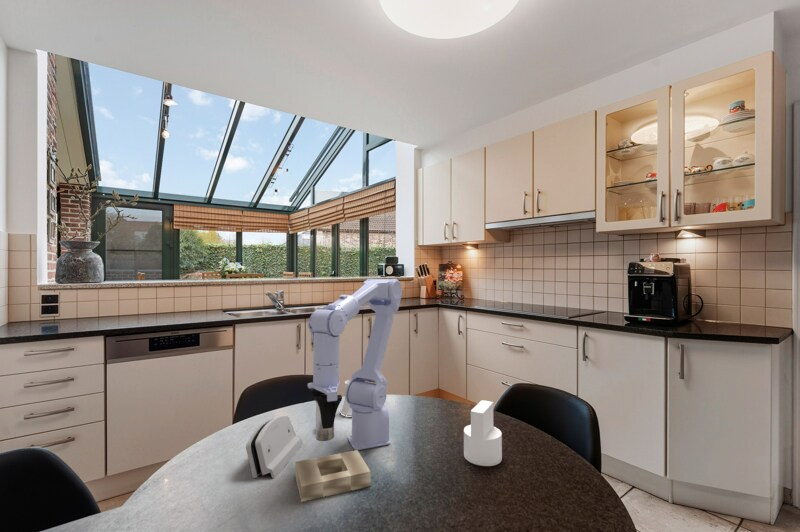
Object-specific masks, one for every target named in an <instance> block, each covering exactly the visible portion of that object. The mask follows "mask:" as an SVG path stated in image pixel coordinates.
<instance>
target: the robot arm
mask: <svg viewBox="0 0 800 532" xmlns="http://www.w3.org/2000/svg"><path fill="white" fill-rule="evenodd" d="M402 296H403V289H402V284H401V282H400V281H399V279H397V278H389V279H388V278H386V279H385V278H367V279H366V280H365V281H363V283H362V286H361V287H360V288H359V289H357V290H356V291H354V293H352V294H351V295H350V294H340V295H339V296H338V299H337V300H335V301H333V302H332V303H329V304H327V306H326V307H324V309H316V310H315V311H313V312H312V314H311V315H310V317H309V321H308V322H307V327H308V330H309V332H310V334H311V341H312V342H313V362H312V363H313V365H312V366H313V367H312V368H313V371H312V372H313V375H312V377H313V378H312V382H308V383H307V388H308V389H310V391H311V393H312V395H313V397H314V401H315V402H316V401H317V403H318V406H319V409H320V415H321V422H322V427H323V429H327V428H332V427H333V424H334V425H335V420H336V415H337V411H338V408H339V406H340V404H341V402H342V400H343V396H342V395H341V394H338V391H339V388H340V385H341V381H340V335H341V334H343V332H344V330H345V327H346V326H347V324H348V322H350V320H352V319H353V318H355V317H356V316H357V315H358V314H359V312H360V308H361V307H362V306H363V305H365V304H368V306H369V307H370V309H371V310H372V311H374V312H375V316H374V317H375V318H374V321H373V325H372V327H371V333H370V335H369V336H370V337H369V340H368V344H367V347H366V351H365V354H364V357H363V362H362V365H361V368H359V369H357V371H355V372H353V373H352V374H351V378H350V379H349V380H350V382H349V384H348V385H347V387H346V391H345V393H344V399H345V398H346V401H347V402H348V403H349V404H350V408H352V418H351V435H348V436H347V438H346V439H347V440H348V441H349V444H350V445H351V447H352V448H353V449H354V450H353V451H355V450H358V451H361V450H368V449H371V448H378V447H382V446H388V445H391V441H390V414H389V410H388V408H387V406H386V405H385V403H386V400H387V396H388V395H387V389H388V381H387V379H386V378H385V376H384V375H383V374H382V371H381V370H382V368H383V363H384V359H385V355H386V350H387V347H388V343H389V339H390V335H391V334H390V333H391V330H392V327H393V323H394V320H395V319H394V318H395V314H396V312H398V311H399V309H400V303H401V299H402ZM321 394H324V395H321ZM318 395H321V396H318Z"/></svg>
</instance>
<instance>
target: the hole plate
mask: <svg viewBox="0 0 800 532" xmlns="http://www.w3.org/2000/svg"><path fill="white" fill-rule="evenodd" d="M294 464H295V465H294V471H295V472H294V475H295V476H294V477H295V480H296V485H297V489H298V493H299V498H301V499H300V502H301V503H304V502H308V501H307V500H309V501H311V499H313V500H316V499H315V498H317V499H320V498H319V497H321V498H325V496H326V497H330V496H333V495H338V494H343V493H345V492H346V491H347V492H350V491H351V490H352V491H355V490H361V489H364V488H368V487H371V482H372V481H371V472H372V471H371V470H370V467H368V465H367V463H366V461H365V460H364V459H363V457H362V455H361V453H360V452H359V450H351V451H346V452H340V453H334V454H330V455H325V456H319V457H315V458H314V457H313V458H308V459H305V460H304V459H303V460H298V461H295V463H294ZM352 491H351V492H352ZM347 492H346V493H347ZM303 501H304V502H303Z"/></svg>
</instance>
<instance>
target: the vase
mask: <svg viewBox="0 0 800 532" xmlns="http://www.w3.org/2000/svg"><path fill="white" fill-rule="evenodd" d="M350 380H351V379H347V380H345V381H344V385H345V386H344V388H345V391H346V387H347V385H348V384H349V382H350ZM339 412H341V413H342V414H344V415H345V416H346V415H347V416H352V408H350V404H349V403H348V402H347V401H346V398H345V397H344V400H343V404H342V407H341V409H340V411H339Z"/></svg>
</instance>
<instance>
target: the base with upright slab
mask: <svg viewBox="0 0 800 532" xmlns="http://www.w3.org/2000/svg"><path fill="white" fill-rule="evenodd" d="M502 442H503V433H502V431H501V430H500V429H499V428H497V427H496V426H494V402H493V401H489V400H484V399H483V400H480V401H479V402H477V404H476V405H475V406H474V407H473V408H472V409H471V410H470V424H468V425H466V426H464V428H463V457H464V458H465V460H467V462H469V463H471V464H473V465H476V466H482V467H492V466H497V465H498V464H500V463H501V462H502V460H503V449H502V448H503V447H502V446H503V443H502Z"/></svg>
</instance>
